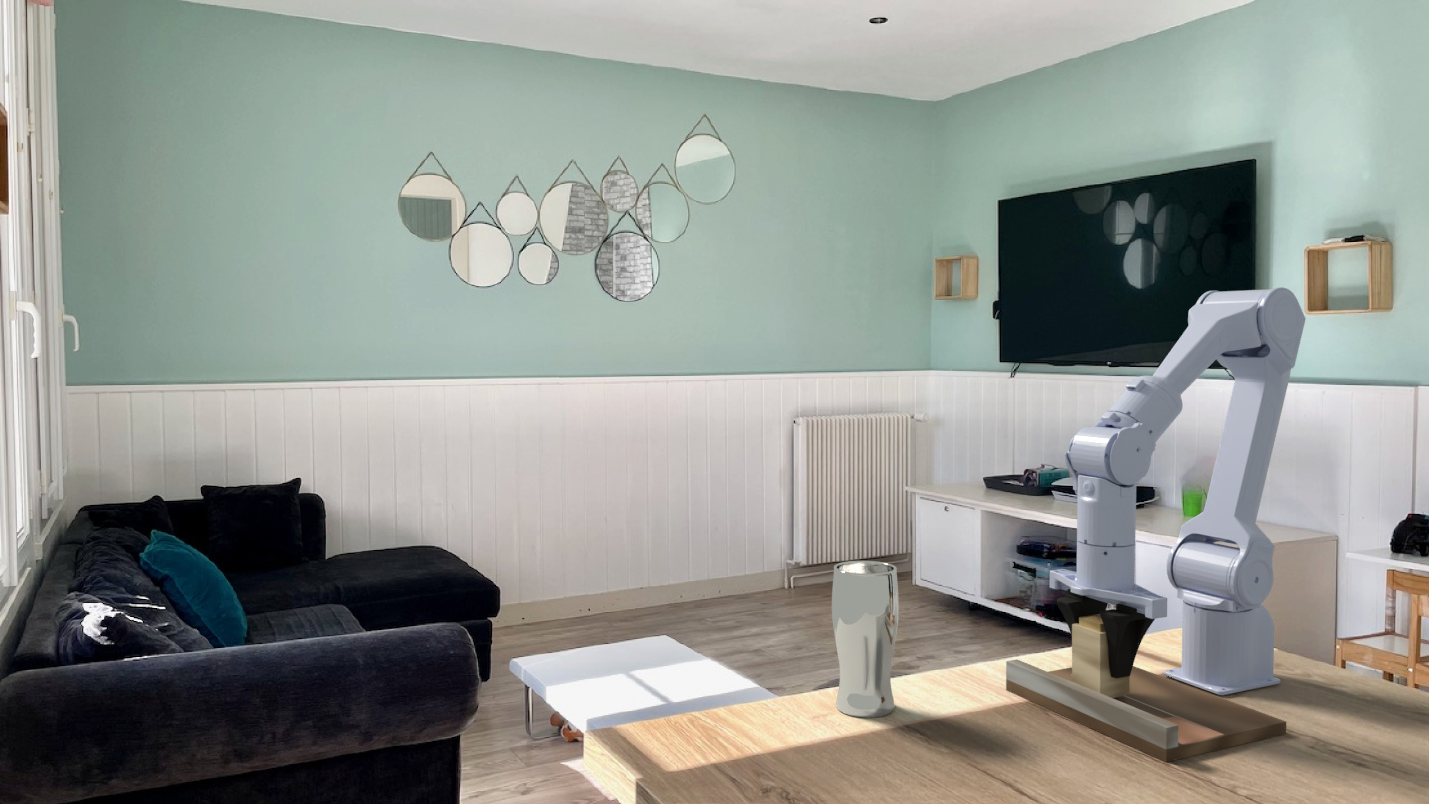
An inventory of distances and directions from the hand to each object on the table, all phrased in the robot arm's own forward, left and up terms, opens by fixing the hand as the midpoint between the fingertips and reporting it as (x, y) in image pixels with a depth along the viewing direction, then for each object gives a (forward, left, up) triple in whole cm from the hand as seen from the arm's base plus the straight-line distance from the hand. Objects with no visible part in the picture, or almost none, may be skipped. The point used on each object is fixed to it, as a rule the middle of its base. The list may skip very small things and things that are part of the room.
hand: (1103, 670), depth 111 cm
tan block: (0, 0, -2) cm, 2 cm away
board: (-2, +2, -4) cm, 5 cm away
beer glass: (+23, -11, -4) cm, 25 cm away
